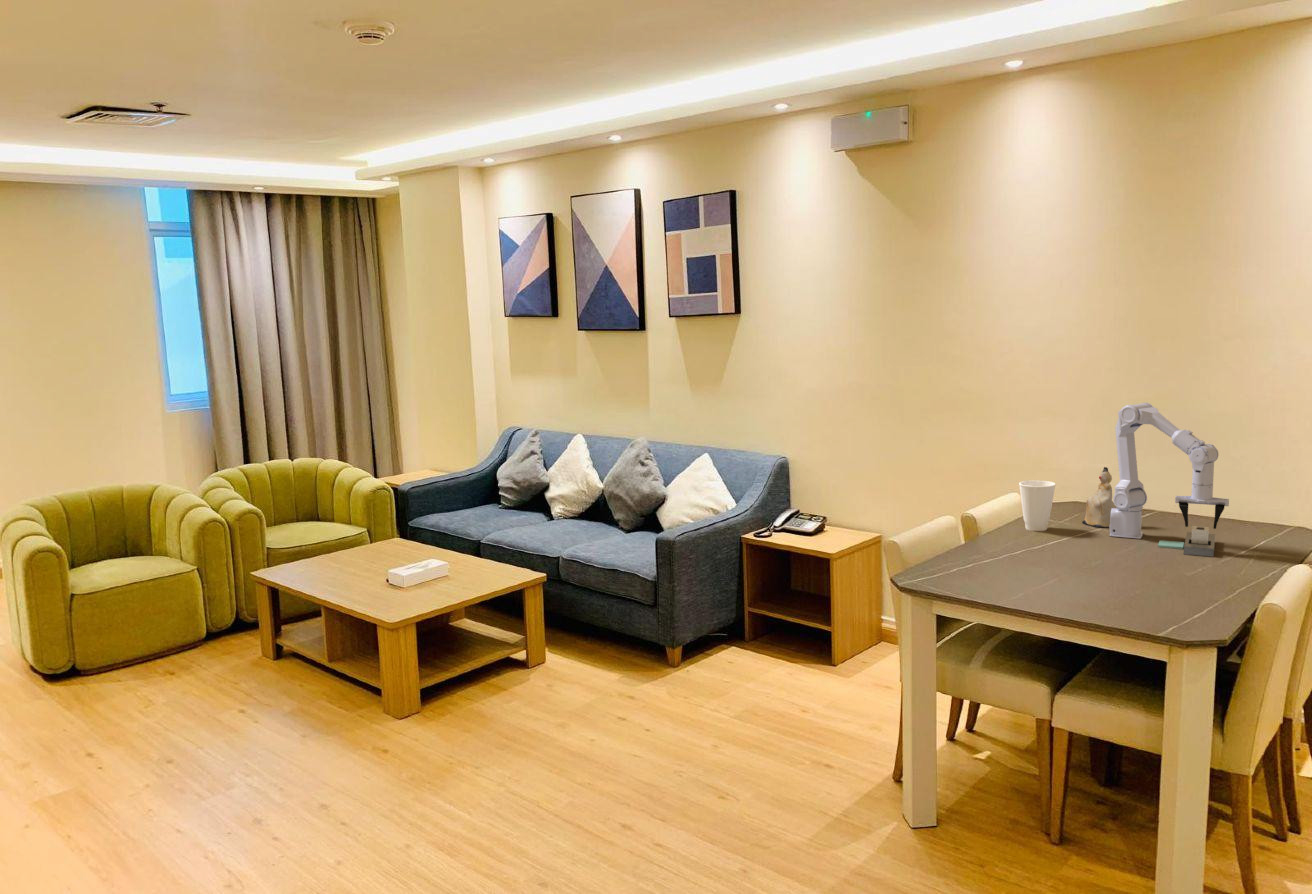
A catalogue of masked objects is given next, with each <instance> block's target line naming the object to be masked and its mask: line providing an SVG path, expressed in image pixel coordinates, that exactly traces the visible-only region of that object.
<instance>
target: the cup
mask: <svg viewBox="0 0 1312 894" xmlns="http://www.w3.org/2000/svg"><path fill="white" fill-rule="evenodd" d="M1018 485H1019V493H1020V502H1021V509H1022V518H1023V521H1024V525H1025V529H1026V530H1027V531H1033V532H1044V531H1047V530H1048V526H1049V525H1048V524H1049V523H1050V518H1051V512H1052V506H1053V503H1054V502H1053V501H1054V494H1055V489H1056V486H1057V484H1056V483H1055V482H1053V481H1048V480H1037V479H1036V480H1035V479H1034V480H1031V479H1029V480H1022V481H1020V482H1018Z"/></svg>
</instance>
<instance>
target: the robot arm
mask: <svg viewBox="0 0 1312 894" xmlns="http://www.w3.org/2000/svg"><path fill="white" fill-rule="evenodd" d="M1117 414H1118V419H1117V422H1116V425H1115V439H1116V441H1115V442H1116V452H1117V453H1116V454H1117V461H1118V472H1119V482H1118V483H1117V484H1116V485H1115V487H1114V495H1113V497H1112V501H1113V503H1114V505H1115V507H1116V508H1112V509H1111V516H1110V528H1109V536H1110V537H1113V538H1114V537H1116V538H1130V539H1142V538H1143V535H1144V532H1143V531H1142V513H1143V512H1142V511H1143V509H1144V507H1143V506H1144V505H1145V504H1146V503H1147V501H1148V496H1147V493H1146V492H1147V491H1145V487H1144V484H1143V482H1141V480H1139V475H1138V474H1139V473H1138V462H1137V452H1136V451H1137V450H1136V449H1137V448H1136V441H1135V432H1136V431H1138V429H1139V428H1140V427H1141V426H1143V425H1151V426H1153V427H1155V428H1156V429H1158V430H1159V431H1160V432H1163V434H1165V435H1166V436H1168V437H1169V438H1171V441H1172V444H1173V445H1174V446H1175V447H1176V448H1177V449H1179V450H1180V451H1182V452H1183V453H1184V454H1186V455H1187V456H1188V458H1189V461H1190V462H1191V464H1192V465H1191V467H1192V479H1191V495H1175V496H1174V497H1175V500H1174V502H1175V504H1178V507H1179V509H1180V511H1181V513H1182V516H1183V520H1184V526H1185V527H1186V528H1188V527H1189V505H1190V504H1193V505H1194V504H1195V505H1210V506H1214V520H1213V529H1214V530H1216V529H1217V525H1218V522H1219V519H1220V517H1221V516H1222V513H1223V512H1224V510H1225V507H1229V504H1230V499H1229V498H1222V497H1221V498H1220V497H1213V495H1214V492H1213V491H1214V477H1215V475H1214V473H1215V472H1214V471H1215V462H1216V461H1217V460H1218V458H1219V450H1218V449H1217V448H1216V446H1215V445H1214V444H1211V443H1206V442H1205V440H1202V439H1200V438H1198V437H1197V436H1195V435H1194V434H1193V431H1191V430H1190V429H1189V430H1187V429H1181V430H1180V428H1178V427H1177V426H1176V425H1175V424H1174V423H1172V422H1171V421H1170V420H1169V419H1167V418H1166V417H1165V416H1164V415H1163V414H1162V413H1161V412H1159V410H1158V408H1157V407H1155V406H1154V405H1152V404H1151V403H1148V402H1142V403H1135V404H1127V405H1124V406H1123V407H1122V408H1121V409H1120V410H1119V411H1118V412H1117Z"/></svg>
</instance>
